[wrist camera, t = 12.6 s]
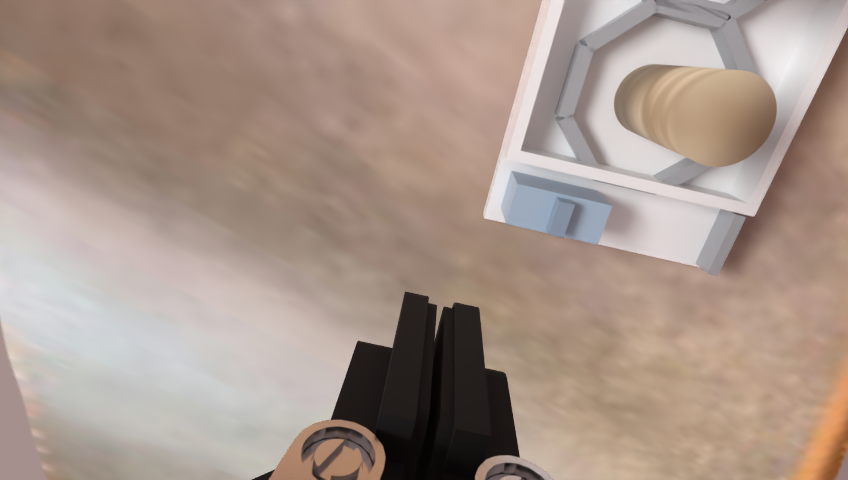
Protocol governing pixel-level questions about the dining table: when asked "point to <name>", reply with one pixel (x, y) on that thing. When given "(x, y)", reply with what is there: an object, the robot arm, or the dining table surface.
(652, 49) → the housing
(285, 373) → the dining table surface
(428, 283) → the dining table surface
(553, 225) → the latch
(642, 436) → the dining table surface
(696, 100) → the dowel
